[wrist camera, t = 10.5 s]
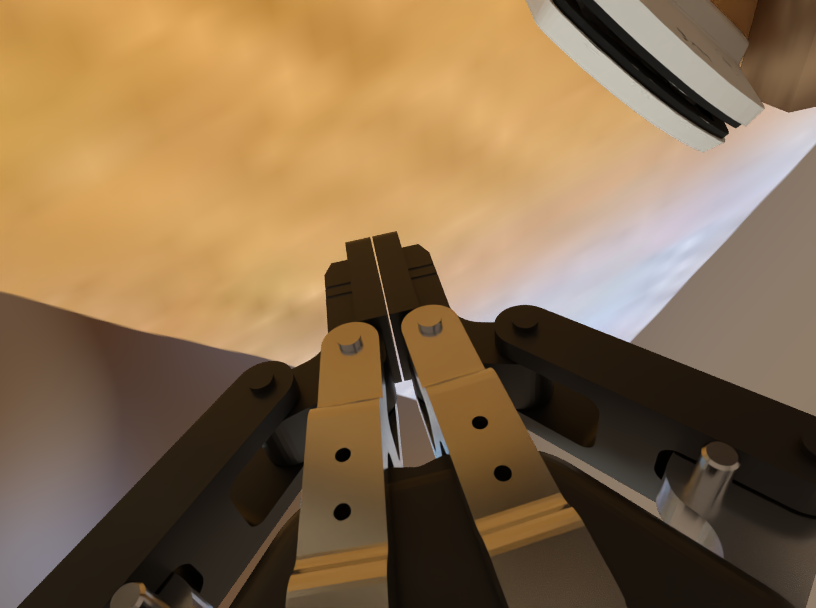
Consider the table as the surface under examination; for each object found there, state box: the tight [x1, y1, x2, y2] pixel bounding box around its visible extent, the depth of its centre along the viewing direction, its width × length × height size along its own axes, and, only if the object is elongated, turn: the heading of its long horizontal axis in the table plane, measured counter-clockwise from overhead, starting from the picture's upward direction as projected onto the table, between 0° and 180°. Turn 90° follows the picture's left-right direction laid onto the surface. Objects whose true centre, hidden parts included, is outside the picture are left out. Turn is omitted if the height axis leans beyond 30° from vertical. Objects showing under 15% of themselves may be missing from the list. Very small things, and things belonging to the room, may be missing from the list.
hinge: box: [526, 0, 765, 152], centre depth 28 cm, size 17×5×10 cm, turn 60°
